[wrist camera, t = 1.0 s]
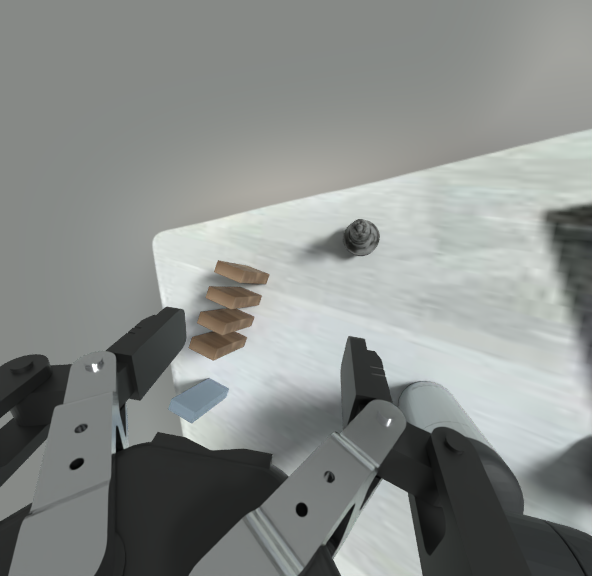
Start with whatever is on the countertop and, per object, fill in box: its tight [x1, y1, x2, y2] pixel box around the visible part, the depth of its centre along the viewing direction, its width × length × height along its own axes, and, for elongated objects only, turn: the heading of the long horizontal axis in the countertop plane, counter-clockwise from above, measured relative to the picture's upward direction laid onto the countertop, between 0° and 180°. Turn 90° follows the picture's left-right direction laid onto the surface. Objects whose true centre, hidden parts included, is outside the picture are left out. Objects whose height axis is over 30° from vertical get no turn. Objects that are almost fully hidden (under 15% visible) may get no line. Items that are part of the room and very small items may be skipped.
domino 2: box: [206, 286, 262, 309], centre depth 48 cm, size 2×5×11 cm, turn 69°
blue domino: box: [168, 378, 229, 423], centre depth 50 cm, size 2×5×11 cm, turn 69°
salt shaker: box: [343, 219, 380, 256], centre depth 42 cm, size 6×6×12 cm
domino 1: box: [214, 260, 269, 284], centre depth 48 cm, size 2×5×11 cm, turn 69°
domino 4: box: [189, 331, 247, 361], centre depth 49 cm, size 2×5×11 cm, turn 69°
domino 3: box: [197, 308, 254, 335], centre depth 49 cm, size 2×5×11 cm, turn 69°
